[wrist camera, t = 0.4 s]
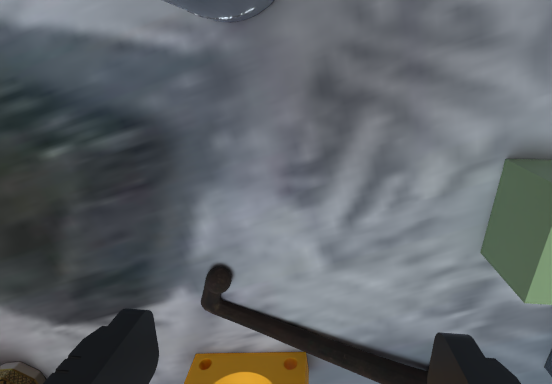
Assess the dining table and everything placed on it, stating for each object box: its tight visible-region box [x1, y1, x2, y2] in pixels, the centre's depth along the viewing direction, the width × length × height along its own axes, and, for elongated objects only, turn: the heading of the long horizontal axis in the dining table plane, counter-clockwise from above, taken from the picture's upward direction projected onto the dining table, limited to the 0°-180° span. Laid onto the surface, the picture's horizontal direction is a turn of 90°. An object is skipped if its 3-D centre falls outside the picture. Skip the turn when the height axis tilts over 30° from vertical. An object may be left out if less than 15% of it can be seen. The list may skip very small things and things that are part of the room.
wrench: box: [201, 267, 428, 384], centre depth 29 cm, size 5×5×30 cm
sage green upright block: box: [481, 159, 552, 305], centre depth 21 cm, size 8×4×6 cm, turn 1°
